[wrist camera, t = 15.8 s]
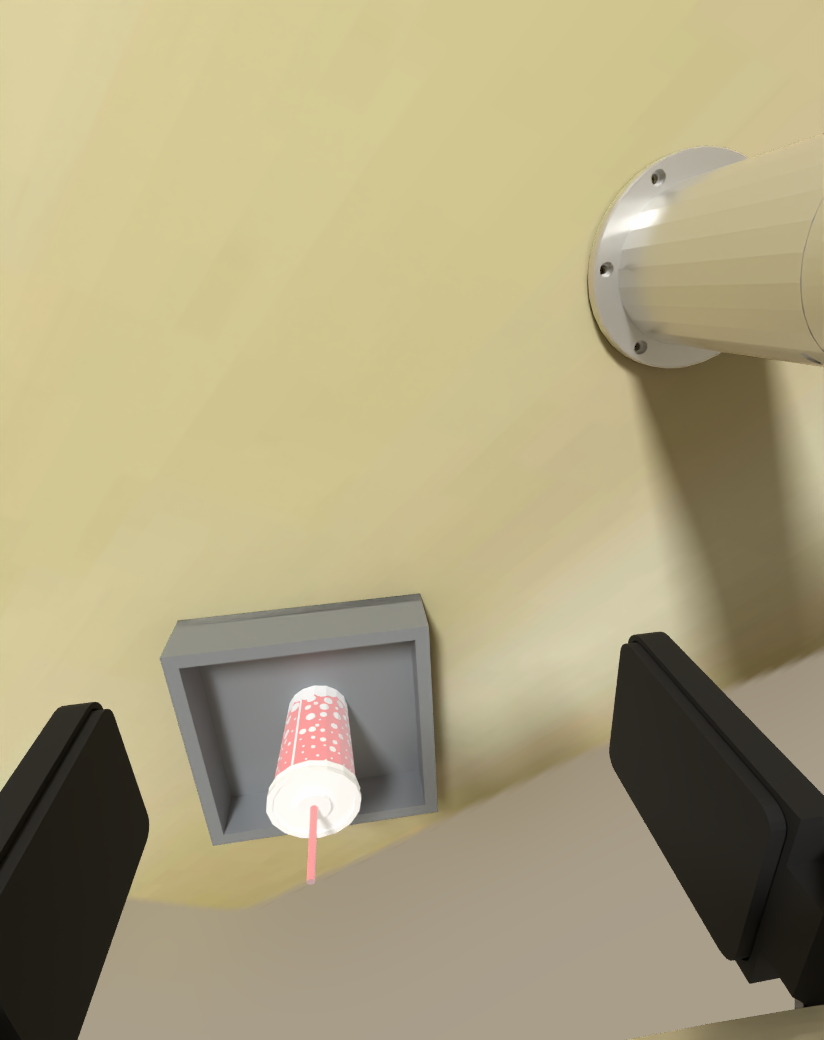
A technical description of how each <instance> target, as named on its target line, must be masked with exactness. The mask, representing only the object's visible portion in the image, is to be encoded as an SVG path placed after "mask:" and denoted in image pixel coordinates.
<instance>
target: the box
mask: <svg viewBox="0 0 824 1040" xmlns="http://www.w3.org/2000/svg"><path fill="white" fill-rule="evenodd" d="M160 661H161V664H162V668H163V671H164V675H165V678H166V682H167V685H168V689H169V693H170V696H171V700H172V703H173V707H174V710H175V714H176V717H177V721H178V724H179V728H180V731H181V735H182V738H183V742H184V745H185V749H186V753H187V756H188V760H189V763H190V767H191V770H192V774H193V777H194V781H195V784H196V788H197V791H198V795H199V798H200V802H201V806H202V809H203V813H204V816H205V820H206V823H207V827H208V830H209V834H210V837H211V841H212V844H213V846H215V845H221V844H228V843H235V842H241V841H248V840H254V839H261V838H268V837H274V836H281V835H287V834H286V833H284V832H283V831H281V830H280V829H278V828H277V827H276V826H274V825H273V824H272V822H271V820H270V819H269V817H268V815H267V813H266V805H267V795H268V792H269V787H270V785H271V784H272V782H273V781H274V779H275V774H276V769H277V764H278V759H279V754H280V749H281V744H282V739H283V734H284V729H285V724H286V719H287V714H288V709H289V704H290V702H291V700H292V699H293V697H294V695H295V694H297V693H298V692H300V691H301V690H302V689H304V688H308V687H311V686H314V685H317V686H328V687H331V688H333V689H336V690H337V691H338V692H340V693H341V694H342V695H343V696H344V698H345V701H346V703H347V709H348V718H349V726H350V735H351V743H352V752H353V760H354V769H355V776H356V778H357V781H358V783H359V786H360V793H361V804H360V811H359V812H358V814H357V815H356V817H355V818H354V820H353V821H352V822H351V823H350V824H349V825H353V824H360V823H366V822H373V821H380V820H386V819H393V818H399V817H406V816H413V815H419V814H426V813H432V812H438V803H437V782H436V762H435V742H434V721H433V701H432V681H431V661H430V640H429V625H428V622H427V618H426V614H425V611H424V607H423V604H422V600H421V596H420V594H412V595H403V596H394V597H385V598H376V599H367V600H358V601H350V602H341V603H332V604H323V605H314V606H305V607H296V608H287V609H278V610H269V611H261V612H252V613H243V614H234V615H225V616H216V617H207V618H198V619H189V620H180V621H178V622H177V624H176V626H175V628H174V630H173V632H172V634H171V636H170V638H169V640H168V642H167V644H166V646H165V648H164V650H163V652H162V655H161V657H160Z"/></svg>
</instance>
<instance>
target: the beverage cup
mask: <svg viewBox="0 0 824 1040" xmlns="http://www.w3.org/2000/svg"><path fill="white" fill-rule="evenodd" d="M360 804H361V793H360V786H359V783H358V781H357V778H356V776H355V769H354V760H353V752H352V743H351V735H350V726H349V718H348V709H347V703H346V701H345V698H344V696H343V695H342V694H341V693H340V692H338V691H337V690H336V689H333V688H331V687H328V686H317V685H314V686H311V687H308V688H304V689H302V690H301V691H300V692H298V693H297V694H295V695H294V697H293V699H292V700H291V702H290V704H289V709H288V714H287V719H286V724H285V729H284V734H283V739H282V744H281V749H280V754H279V759H278V764H277V769H276V774H275V779H274V781H273V782H272V784H271V785H270V787H269V792H268V795H267V805H266V813H267V815H268V817H269V819H270V820H271V822H272V824H273V825H274V826H276V827H277V828H278V829H280V830H281V831H283V832H284V833H286V834H289V835H293V836H296V837H300V838H309V845H308V866H307V884H314V883H315V870H316V842H317V838H320V837H324V836H327V835H330V834H334V833H337V832H338V831H340V830H341V829H343V828H344V827H346V826H347V825H349V824H350V823H351V822H352V821H353V820H354V818H355V817H356V815H357V814H358V812H359V811H360Z"/></svg>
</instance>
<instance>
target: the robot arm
mask: <svg viewBox="0 0 824 1040" xmlns="http://www.w3.org/2000/svg"><path fill="white" fill-rule="evenodd" d="M651 177H653V178H654V182H653V183H652V180H651ZM601 266H602V267H603V269H604V271H603V273H602V274H600V267H601ZM588 288H589V298H590V302H591V306H592V311H593V315H594V317H595V319H596V321H597V323H598V325H599V328H600V330H601V332H602V333H603V334H604V336H605V337H606V338H607V340H608V341H609V342H610V344H611V345H612V346H613V347H615V348H616V349H617V350H618V351H619V352H620V353H622V354H623V355H624V356H626V357H628V358H630V359H632V360H634V361H636V362H638V363H641V364H645V365H648V366H652V367H659V368H666V369H671V368H685V367H689V366H692V365H696V364H699V363H703V362H705V361H707V360H709V359H711V358H713V357H715V356H717V355H719V354H720V353H722V352H725V353H732V354H739V355H746V356H752V357H759V358H766V359H773V360H779V361H786V362H793V363H800V364H807V365H813V366H820V367H824V133H823V134H820V135H817V136H814V137H811V138H808V139H805V140H802V141H799V142H796V143H793V144H790V145H787V146H784V147H781V148H778V149H775V150H772V151H769V152H766V153H763V154H760V155H757V156H754V157H751V158H748V157H747V156H745V155H744V154H742V153H740V152H737V151H734V150H732V149H729V148H726V147H719V146H708V145H705V146H698V147H692V148H686V149H683V150H680V151H678V152H675V153H672V154H669V155H667V156H665V157H663V158H661V159H659V160H657V161H655V162H653V163H651V164H650V165H648V166H647V167H646V168H644V169H643V170H642V171H641V172H639V173H638V174H637V175H635V176H634V177H633V178H632V179H631V180H630V181H629V182H628V183H627V184H626V185H625V187H624V188H623V189H622V190H621V191H620V192H619V193H618V194H617V196H616V197H615V199H614V200H613V202H612V203H611V205H610V206H609V208H608V209H607V211H606V213H605V214H604V217H603V219H602V221H601V223H600V226H599V228H598V230H597V232H596V235H595V239H594V242H593V246H592V250H591V253H590V260H589V269H588ZM636 343H637V348H636V349H635V350H634V347H635V344H636ZM609 754H610V759H611V763H612V766H613V768H614V770H615V772H616V774H617V775H618V777H619V779H620V781H621V782H622V784H623V786H624V788H625V789H626V791H627V793H628V794H629V796H630V798H631V800H632V801H633V803H634V805H635V806H636V808H637V810H638V811H639V813H640V815H641V817H642V818H643V820H644V822H645V823H646V825H647V827H648V828H649V830H650V832H651V834H652V835H653V837H654V839H655V841H656V842H657V844H658V846H659V847H660V849H661V851H662V853H663V854H664V856H665V858H666V859H667V861H668V863H669V865H670V866H671V868H672V870H673V871H674V873H675V875H676V877H677V878H678V880H679V882H680V883H681V885H682V887H683V888H684V890H685V892H686V894H687V895H688V897H689V898H690V901H691V902H692V904H693V906H694V907H695V909H696V911H697V913H698V914H699V916H700V918H701V919H702V921H703V923H704V925H705V926H706V928H707V930H708V931H709V933H710V935H711V937H712V938H713V940H714V942H715V943H716V945H717V947H718V948H719V950H720V951H721V953H722V954H723V955H724V956H725V957H726V958H727V959H728V960H735V961H736V962H737V964H738V966H739V967H740V969H741V971H742V972H743V974H744V976H745V977H746V979H747V980H748V982H749V983H756V982H761V981H766V980H771V979H776V978H780V979H781V980H782V982H783V983H784V985H785V986H786V988H787V989H788V991H789V992H790V994H791V996H792V997H793V998H795V1009H794V1010H788V1011H782V1012H776V1013H771V1014H765V1015H759V1016H753V1017H747V1018H741V1019H735V1020H729V1021H723V1022H717V1023H711V1024H706V1025H701V1026H696V1027H691V1028H685V1029H681V1030H675V1031H670V1032H664V1033H660V1034H654V1035H649V1036H644V1037H639V1038H633V1039H628V1040H824V795H823V794H821V793H820V791H818V789H817V788H816V787H815V786H814V785H813V784H812V783H811V782H810V781H809V780H808V779H807V778H806V777H805V776H804V775H803V774H802V773H801V772H800V771H799V770H798V769H797V768H796V767H795V766H794V765H793V764H792V763H791V761H790V760H789V759H788V758H787V757H786V756H785V755H784V754H783V753H782V752H781V751H780V750H779V749H778V748H777V747H776V746H775V745H774V744H773V743H772V742H771V741H770V740H769V739H768V738H767V737H766V736H765V735H764V734H763V733H762V732H761V731H760V730H759V729H758V728H757V727H756V726H755V724H754V723H753V722H752V721H751V720H750V719H749V718H748V717H747V716H746V715H745V714H744V713H743V712H742V711H741V710H740V709H739V708H738V707H737V706H736V705H735V704H734V703H733V702H732V701H731V700H730V699H729V698H728V697H727V696H726V695H725V694H724V693H723V692H722V691H721V689H720V688H719V687H718V686H717V685H716V684H715V683H714V682H713V681H712V680H711V679H710V678H709V677H708V676H707V675H706V674H705V673H704V672H703V671H702V670H701V669H700V668H699V667H698V666H697V665H696V664H695V663H694V662H693V661H692V660H691V659H690V658H689V657H688V656H687V655H686V654H685V652H684V651H683V650H682V649H681V648H680V647H679V646H678V645H677V644H676V643H675V642H674V641H673V640H672V639H671V638H670V637H669V636H668V635H667V634H665V633H664V632H653V633H645V634H637V635H633V636H631V637H630V639H629V641H628V644H624V645H622V647H621V651H620V660H619V669H618V677H617V686H616V695H615V704H614V712H613V721H612V730H611V739H610V748H609ZM148 833H149V818H148V814H147V811H146V808H145V805H144V802H143V800H142V797H141V794H140V791H139V788H138V785H137V782H136V779H135V776H134V773H133V770H132V767H131V764H130V761H129V758H128V755H127V752H126V749H125V746H124V744H123V741H122V738H121V735H120V732H119V729H118V726H117V723H116V720H115V717H114V714H113V712H112V711H111V710H110V709H104V710H103V708H102V706H101V705H100V704H99V703H98V702H91V703H83V704H75V705H67V706H62V707H59V708H58V709H57V710H56V711H55V712H54V714H53V715H52V717H51V718H50V719H49V721H48V722H47V724H46V725H45V727H44V728H43V730H42V731H41V733H40V734H39V736H38V737H37V739H36V740H35V742H34V743H33V745H32V746H31V748H30V749H29V750H28V752H27V753H26V755H25V756H24V758H23V759H22V761H21V762H20V764H19V765H18V767H17V768H16V770H15V771H14V773H13V774H12V776H11V777H10V779H9V780H8V781H7V783H6V784H5V786H4V787H3V789H2V790H1V792H0V1040H77V1039H78V1036H79V1034H80V1031H81V1028H82V1025H83V1022H84V1019H85V1016H86V1014H87V1011H88V1008H89V1005H90V1002H91V999H92V996H93V994H94V991H95V988H96V985H97V982H98V979H99V976H100V973H101V971H102V967H103V965H104V962H105V959H106V956H107V953H108V950H109V948H110V945H111V942H112V939H113V936H114V933H115V930H116V927H117V925H118V922H119V919H120V916H121V913H122V910H123V907H124V905H125V902H126V899H127V896H128V893H129V890H130V887H131V884H132V882H133V879H134V876H135V873H136V870H137V867H138V864H139V861H140V859H141V856H142V853H143V850H144V847H145V844H146V841H147V838H148Z"/></svg>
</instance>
